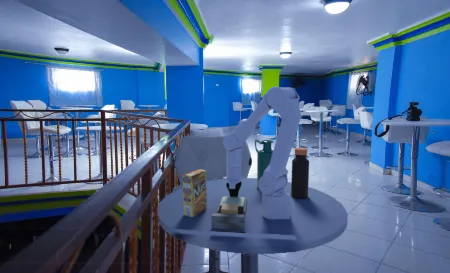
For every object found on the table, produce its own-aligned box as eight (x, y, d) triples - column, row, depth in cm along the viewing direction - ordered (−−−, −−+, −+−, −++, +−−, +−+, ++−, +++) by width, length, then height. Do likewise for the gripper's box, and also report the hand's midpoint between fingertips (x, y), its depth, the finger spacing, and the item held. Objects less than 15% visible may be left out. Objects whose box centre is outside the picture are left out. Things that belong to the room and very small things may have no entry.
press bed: (248, 203, 111) (249, 191, 110) (245, 233, 87) (245, 217, 87) (220, 202, 112) (220, 190, 112) (210, 231, 89) (209, 215, 88)
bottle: (309, 199, 116) (311, 150, 113) (292, 199, 116) (294, 150, 113) (305, 193, 123) (307, 147, 120) (289, 193, 123) (290, 147, 120)
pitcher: (275, 185, 134) (276, 138, 130) (276, 191, 125) (277, 141, 122) (254, 185, 134) (254, 138, 131) (254, 190, 126) (254, 141, 123)
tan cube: (238, 218, 95) (238, 204, 95) (236, 225, 91) (236, 209, 90) (223, 217, 96) (223, 203, 95) (221, 224, 91) (220, 209, 90)
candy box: (193, 220, 96) (192, 176, 94) (182, 217, 99) (181, 174, 96) (207, 211, 104) (206, 170, 102) (197, 209, 106) (197, 168, 104)
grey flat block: (244, 205, 107) (244, 197, 106) (243, 214, 98) (243, 206, 98) (223, 204, 108) (223, 196, 107) (219, 213, 99) (219, 205, 98)
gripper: (225, 161, 114) (225, 194, 116) (220, 170, 100) (220, 208, 102) (243, 162, 113) (243, 195, 115) (240, 171, 99) (240, 209, 101)
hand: (234, 201), depth 108 cm, fingers closed
